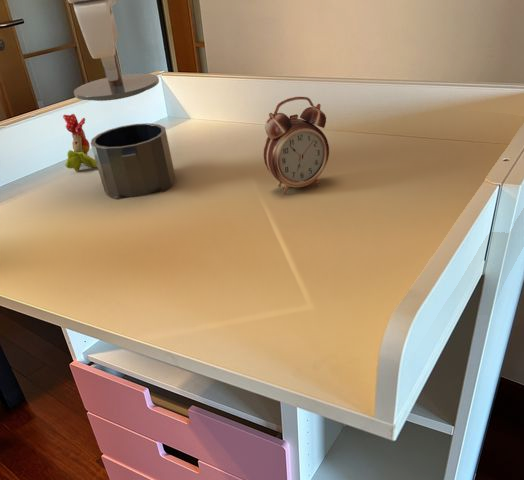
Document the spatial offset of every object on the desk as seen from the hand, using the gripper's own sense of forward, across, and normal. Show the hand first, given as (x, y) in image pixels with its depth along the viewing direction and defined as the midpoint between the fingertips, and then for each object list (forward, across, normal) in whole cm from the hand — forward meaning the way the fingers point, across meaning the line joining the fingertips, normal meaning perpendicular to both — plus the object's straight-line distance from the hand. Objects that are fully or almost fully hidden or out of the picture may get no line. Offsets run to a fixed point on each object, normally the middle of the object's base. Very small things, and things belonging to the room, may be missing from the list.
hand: (114, 77), depth 96 cm
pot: (+19, 0, 0) cm, 19 cm away
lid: (+2, 0, 0) cm, 2 cm away
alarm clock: (+20, +14, +28) cm, 37 cm away
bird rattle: (+20, -17, -12) cm, 29 cm away
